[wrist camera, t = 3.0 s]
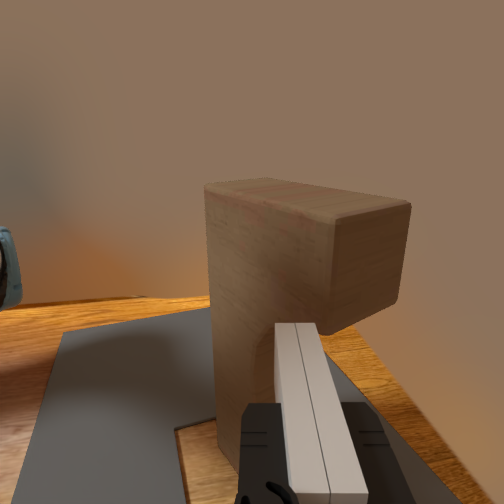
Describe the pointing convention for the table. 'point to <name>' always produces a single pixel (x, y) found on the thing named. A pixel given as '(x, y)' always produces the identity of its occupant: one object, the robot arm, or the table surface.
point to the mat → (146, 416)
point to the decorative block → (290, 276)
